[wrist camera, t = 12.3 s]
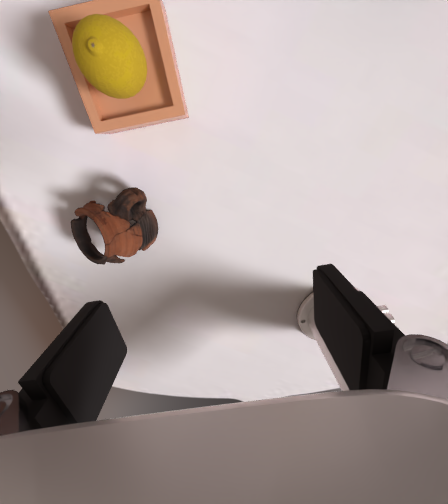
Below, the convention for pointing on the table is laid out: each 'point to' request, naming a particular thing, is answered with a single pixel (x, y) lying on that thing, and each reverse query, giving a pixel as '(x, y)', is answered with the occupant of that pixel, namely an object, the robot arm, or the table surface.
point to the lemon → (109, 56)
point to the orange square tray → (157, 57)
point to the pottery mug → (116, 227)
